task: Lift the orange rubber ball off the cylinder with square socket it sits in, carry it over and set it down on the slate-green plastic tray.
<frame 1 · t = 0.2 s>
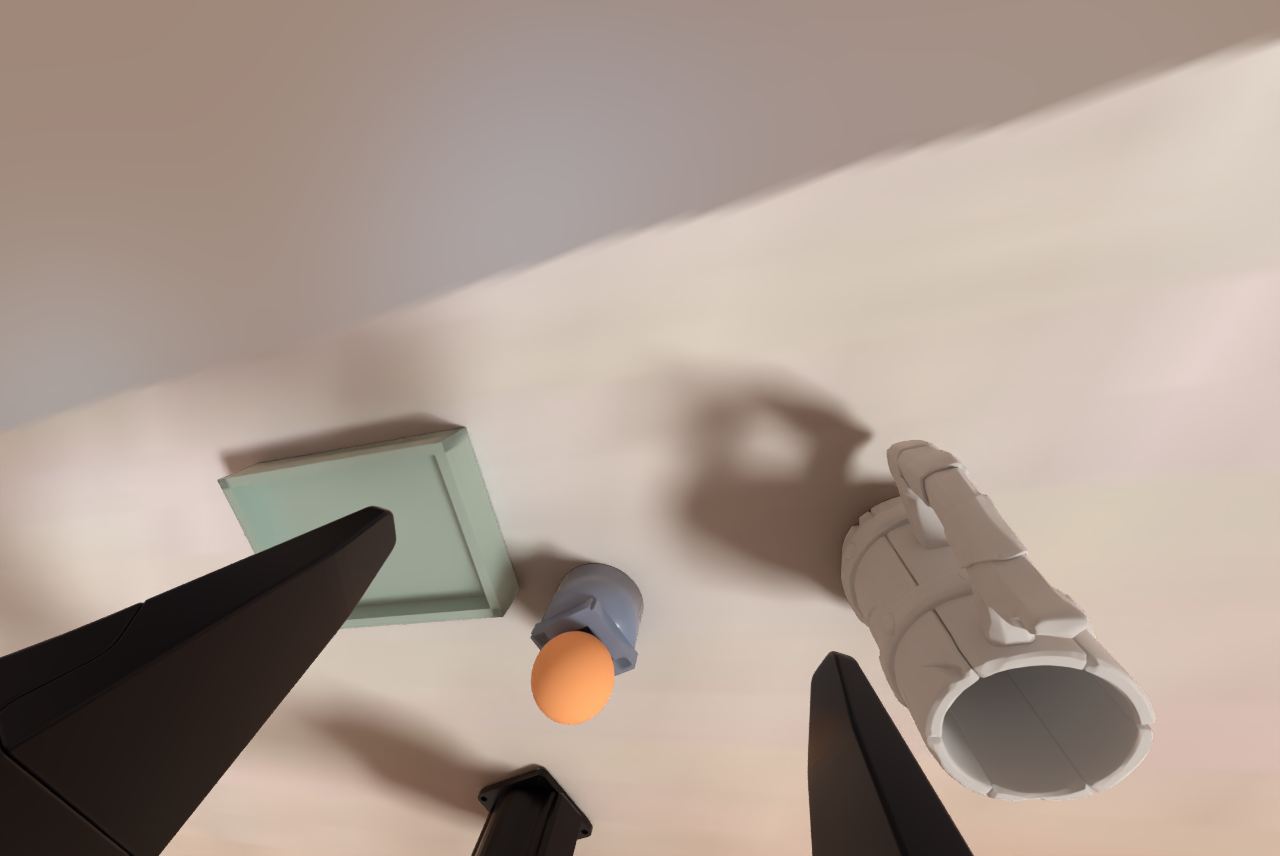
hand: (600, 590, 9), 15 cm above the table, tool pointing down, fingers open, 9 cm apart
mug: (904, 518, 23), on the table
ball: (573, 675, 23), point 5 cm above the table, touching cylinder with square socket
cylinder with square socket: (600, 601, 28), on the table
tray: (387, 526, 29), on the table
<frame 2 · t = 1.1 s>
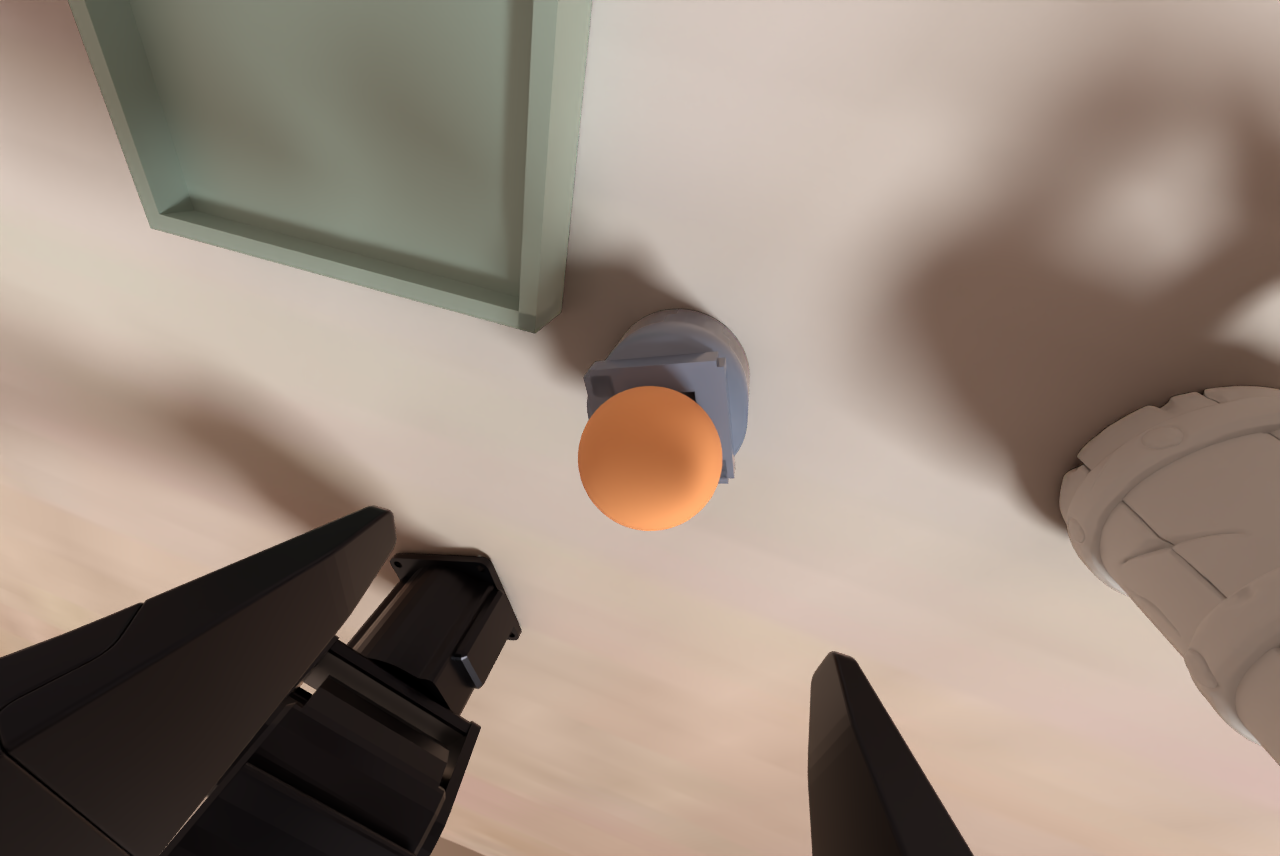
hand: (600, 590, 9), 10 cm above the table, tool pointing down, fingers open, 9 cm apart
mug: (1226, 424, 15), on the table
ball: (650, 457, 13), point 5 cm above the table, touching cylinder with square socket
cylinder with square socket: (679, 376, 18), on the table
tray: (364, 99, 15), on the table
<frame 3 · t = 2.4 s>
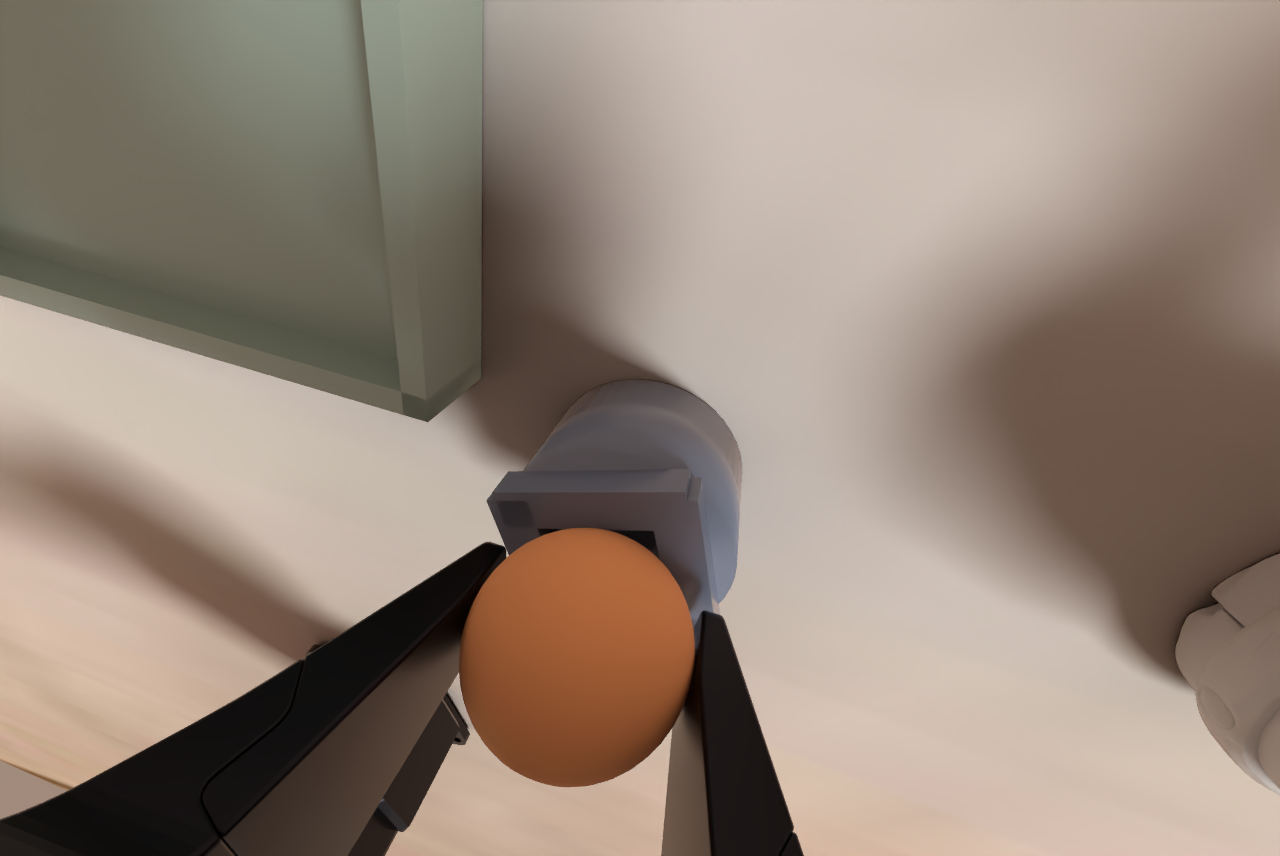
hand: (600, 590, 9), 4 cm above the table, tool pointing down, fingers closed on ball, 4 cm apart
ball: (580, 643, 8), point 5 cm above the table, touching cylinder with square socket, gripper
cylinder with square socket: (645, 466, 13), on the table
tray: (175, 80, 10), on the table
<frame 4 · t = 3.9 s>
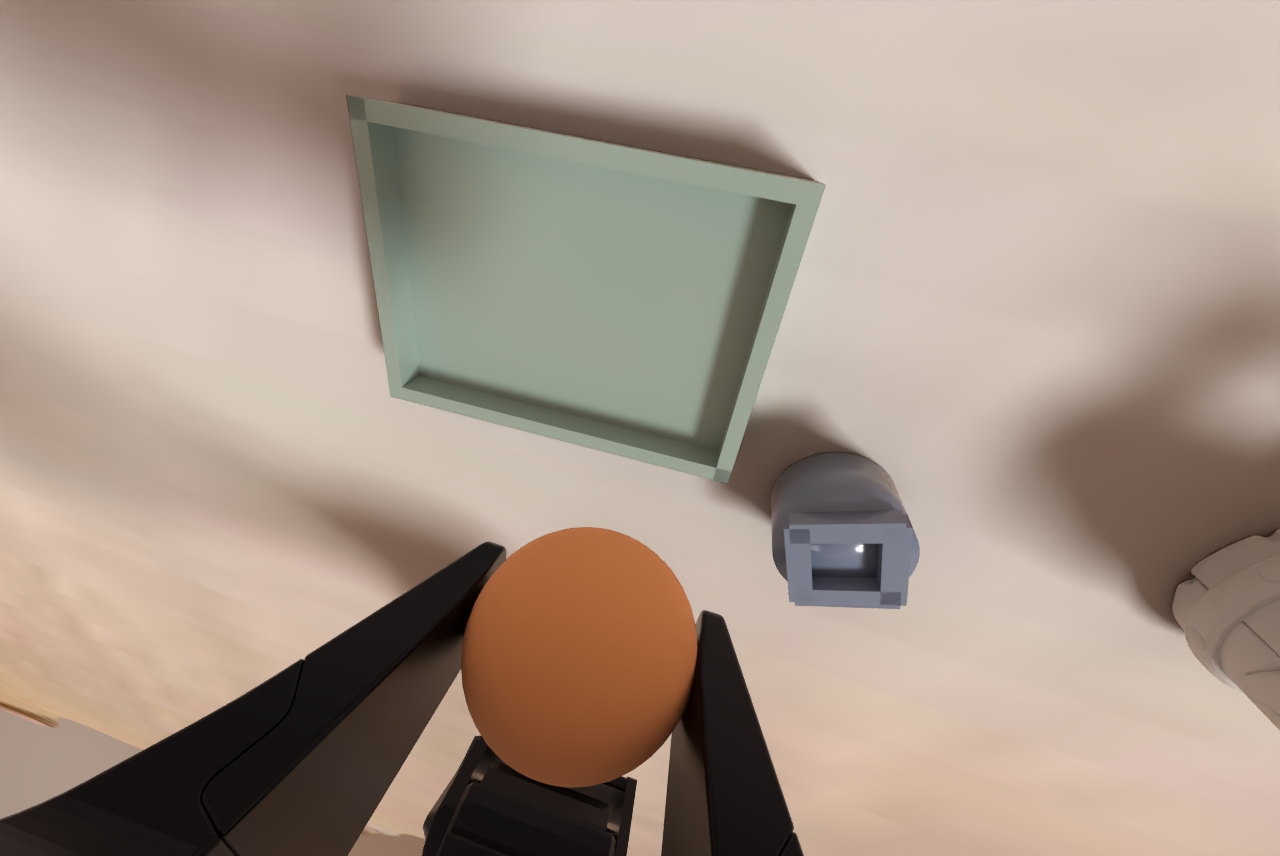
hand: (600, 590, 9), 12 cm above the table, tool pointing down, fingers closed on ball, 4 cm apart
ball: (583, 643, 8), point 13 cm above the table, touching gripper
cylinder with square socket: (831, 501, 21), on the table
tray: (582, 296, 18), on the table
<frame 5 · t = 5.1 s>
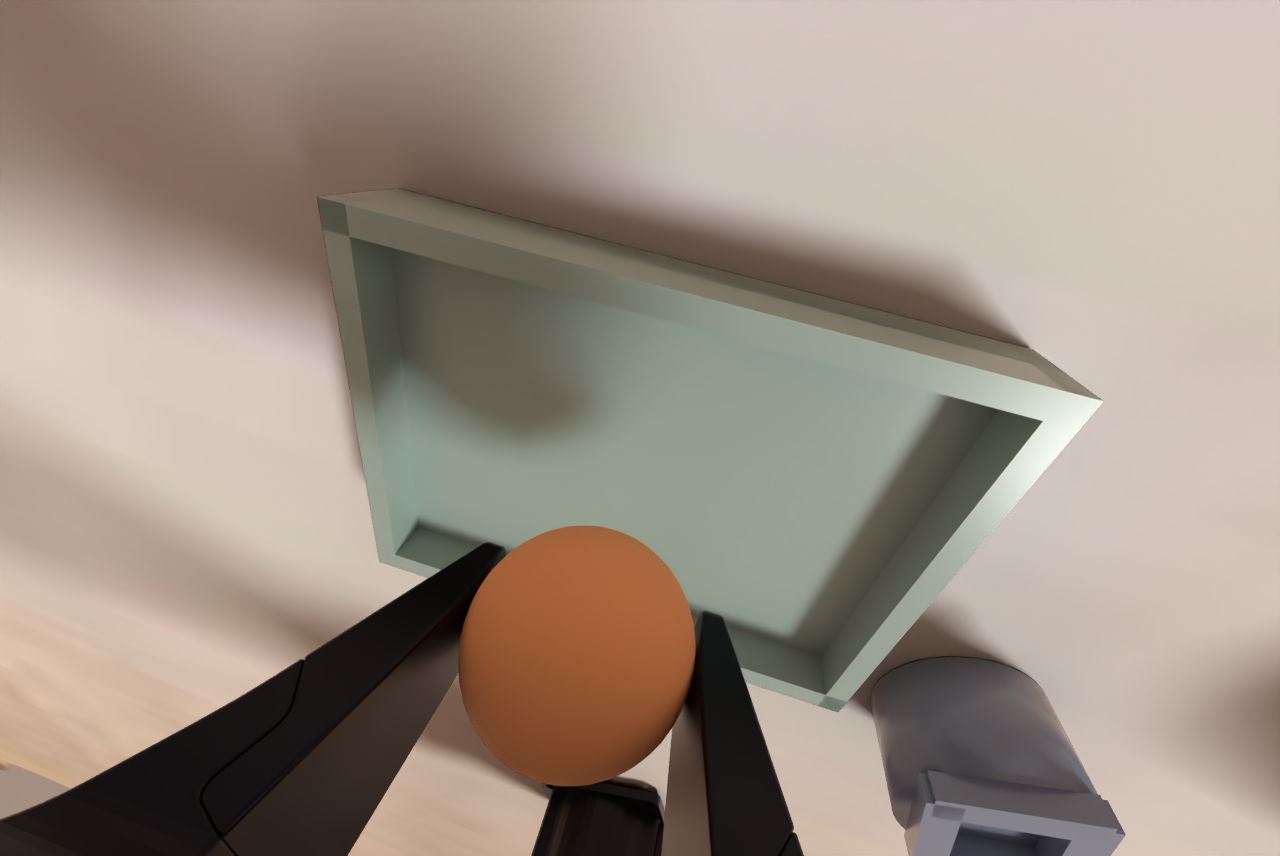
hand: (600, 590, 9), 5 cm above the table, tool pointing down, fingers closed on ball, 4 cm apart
ball: (580, 642, 8), point 6 cm above the table, touching gripper
cylinder with square socket: (954, 705, 16), on the table
tray: (649, 452, 13), on the table
when the fingers open (3 cm above the table, at t = 5.7 s): ball stays where it is, resting on tray.
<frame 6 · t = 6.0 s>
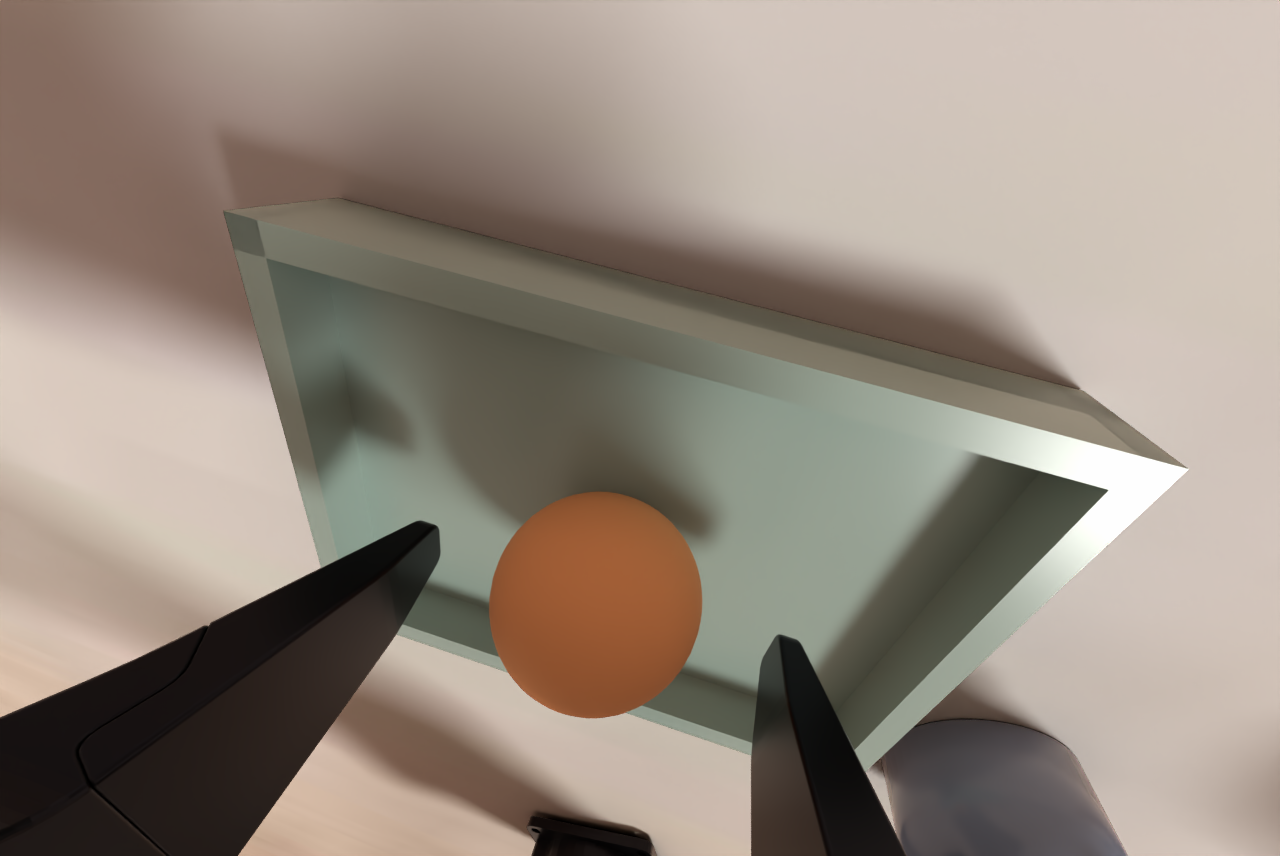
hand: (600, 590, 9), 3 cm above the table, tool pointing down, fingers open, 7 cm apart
ball: (597, 596, 9), point 3 cm above the table, touching tray
cylinder with square socket: (975, 769, 14), on the table
tray: (634, 495, 12), on the table
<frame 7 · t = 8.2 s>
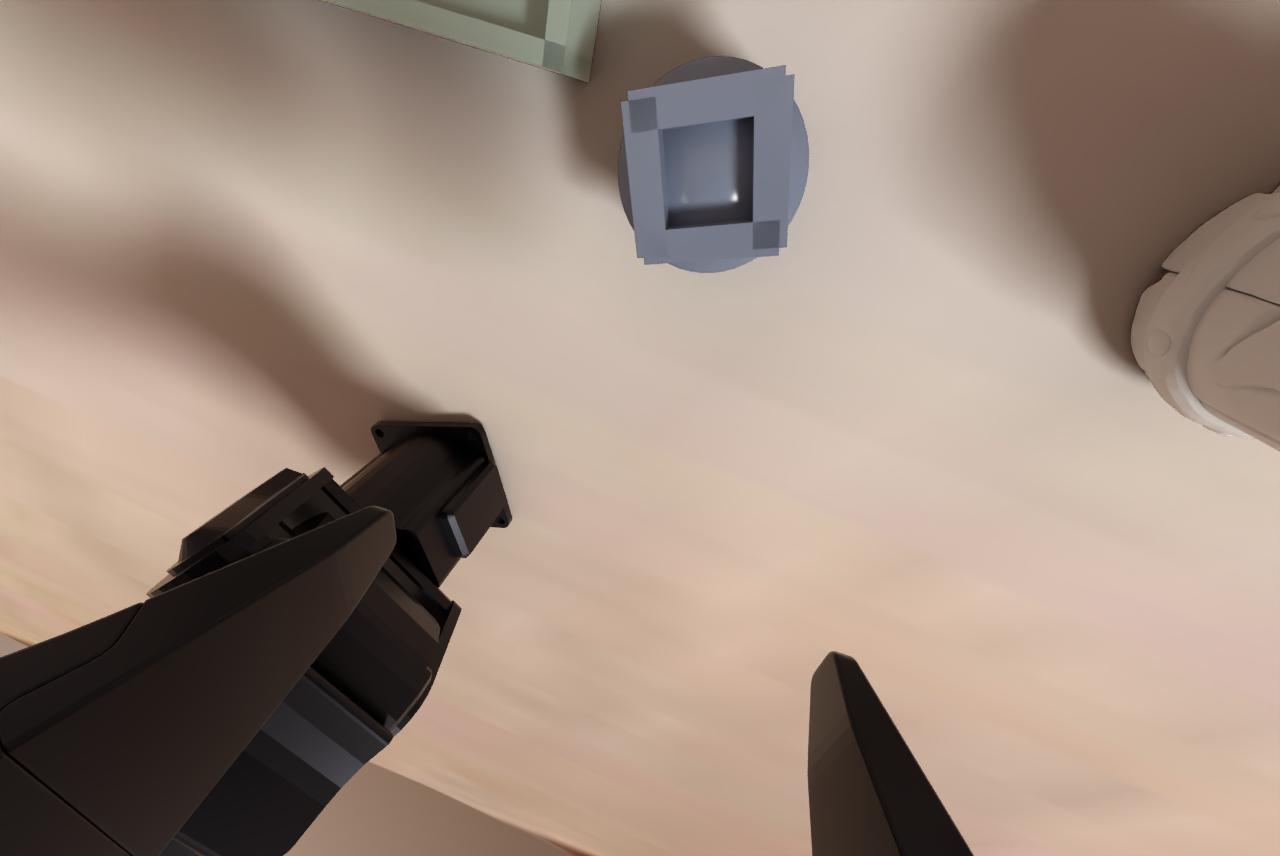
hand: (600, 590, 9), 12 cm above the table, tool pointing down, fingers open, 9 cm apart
cylinder with square socket: (718, 171, 16), on the table
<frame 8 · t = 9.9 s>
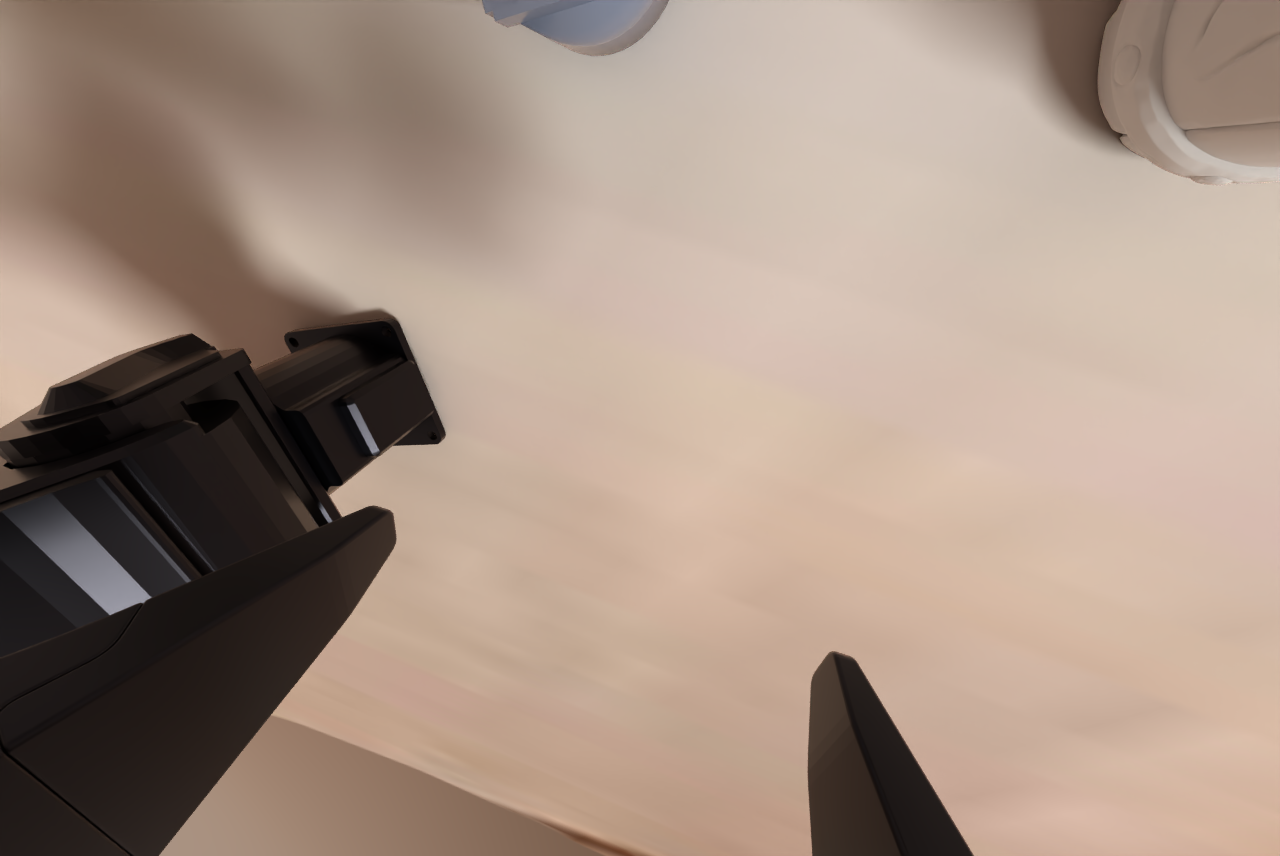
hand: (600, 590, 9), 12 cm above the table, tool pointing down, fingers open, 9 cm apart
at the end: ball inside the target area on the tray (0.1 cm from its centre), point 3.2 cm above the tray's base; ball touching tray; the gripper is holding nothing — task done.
